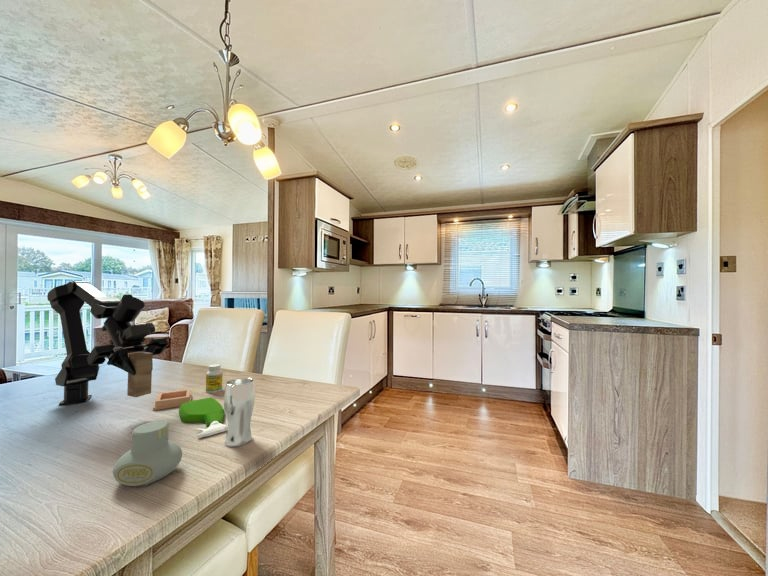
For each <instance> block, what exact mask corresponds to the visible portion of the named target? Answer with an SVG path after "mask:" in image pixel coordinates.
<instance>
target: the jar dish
mask: <svg viewBox="0 0 768 576" xmlns="http://www.w3.org/2000/svg"><path fill="white" fill-rule="evenodd" d="M192 396H193V393H191V388H190V389H189V388H188V389H181V390H174V391H167V392H166V391H165V392H160V393H159V392H158V394H157V397H156V400H155V401H154V404H153V407H152V411H156V410H157V411H158V410H165V409H171V408H177V407H178V408H180V406H181V405H182V404H183V403H185V402H189V401H192Z"/></svg>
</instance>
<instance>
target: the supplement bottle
mask: <svg viewBox="0 0 768 576" xmlns="http://www.w3.org/2000/svg"><path fill="white" fill-rule="evenodd" d="M207 370H208V371H207V372H206V374H205V375H206V376H205V392H206V393H207V394H208V393H209V394H216V393H219V392H221V391H222V390H223V371H222V368H221V364H218V363H217V364H216V363H215V364H210V365H208V367H207Z"/></svg>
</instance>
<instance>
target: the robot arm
mask: <svg viewBox="0 0 768 576" xmlns="http://www.w3.org/2000/svg"><path fill="white" fill-rule="evenodd" d="M46 298H47V301H48V302H49V303H50V307H51V309H52V310H54V311H55V312H56V313H58V314H59V319H60V323H61V328H62V334H63V340H64V341H63V342H64V345H65V352H66V356H65V358H64V360H63V361H62V363H61V369H60V370H59V372H58V374H57V375H56V376H55V378H54V380H55V386H59V387H63V400H61V401H60V402H59V403H58V406H63V405H73V404H79V403H80V404H81V403H85V402H88V401H89V399H90V398H92V396H93V395H92V394H89V382H91V381H97V378H98V375H99V370H100V365H104V363H105V362H106V358H107V360H108V361H107V362H106V365H107V366H113V367H114V368H115V367H116V368H118V369H120V370H123V371H124V372H126V373H127V374H128V373H130V374H132V375H135V374H136V371H135V368H134V366H133V365H132V363H131V361H130V359H129V354H133V353H139V352H149V353H152V358H153V356H156V355H161V354H163V352H164V350H165V349H166V348H167V346H168V345H169V344H170V341H169V339H168V338H167V337H157V338H155V337H154V338H151V340H150V341H149V342H148V343H144V344H143V342H145V341H146V337H147V336H150V335H152V334H153V333H155V332H156V326H155V324H153V322H146V323H144V324H143V323H142V324H135V325H134V324H133V325H132V322H134V321H135V320H136V319H137V318H138V316H140V314H141V312H142V311H143V310H144V307H145V302H144V301H143V300H141V299H139V298H137V297H134V296H133V295H132V294H123V295H122V297H121V299H119V298H116V297H111V296H107V295H105V294H104V293H103V292H102V291H100V290H98V288H96V287H95V286H93V285H92V283H91V282H90V281H87V280H86V281H85V280H84V281H83V280H71V281H69V282H67V283H65V284H62V285H58V286H55V287H53V288H51V290H50V291H48V292H47V297H46ZM85 303H86V304H87V305H89V306H90V313H91V314H92V316H93V317H94V318H95V319H96V320H99V319H101V320H102V319H103V320H104V322H103V326H102V327H101V331H102V332H107V333H108V335H109V338H110V341H109V344H108V343H107V344H98V345H95V346H94V347H93V348H92V350H91V351H89V350H88V347H87V343H86V337H85V333H84V327H83V322H82V316H81V309H82V308H83V306H84V305H85ZM153 364H154V363H153V360H152V371H153V369H154V368H153Z"/></svg>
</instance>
